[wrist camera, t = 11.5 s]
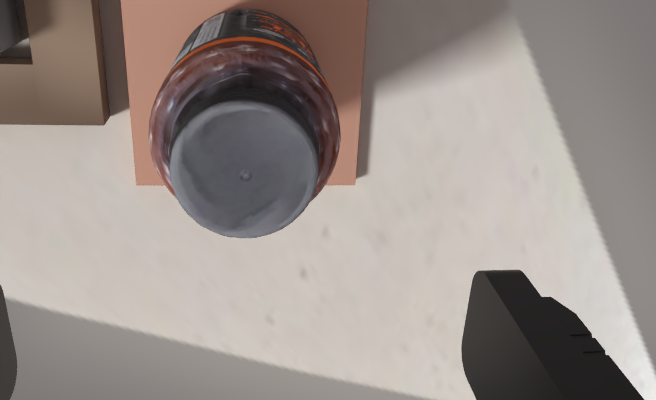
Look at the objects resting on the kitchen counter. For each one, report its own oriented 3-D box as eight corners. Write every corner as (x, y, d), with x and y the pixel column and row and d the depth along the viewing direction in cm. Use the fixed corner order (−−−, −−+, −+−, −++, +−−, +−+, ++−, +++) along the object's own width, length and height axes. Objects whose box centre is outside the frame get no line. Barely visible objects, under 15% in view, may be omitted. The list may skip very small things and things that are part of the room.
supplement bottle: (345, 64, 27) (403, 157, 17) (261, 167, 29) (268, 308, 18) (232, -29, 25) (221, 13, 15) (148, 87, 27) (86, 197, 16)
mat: (119, -54, 25) (116, -53, 24) (368, -43, 26) (371, -42, 25) (138, 180, 29) (136, 185, 28) (353, 180, 30) (354, 185, 30)
